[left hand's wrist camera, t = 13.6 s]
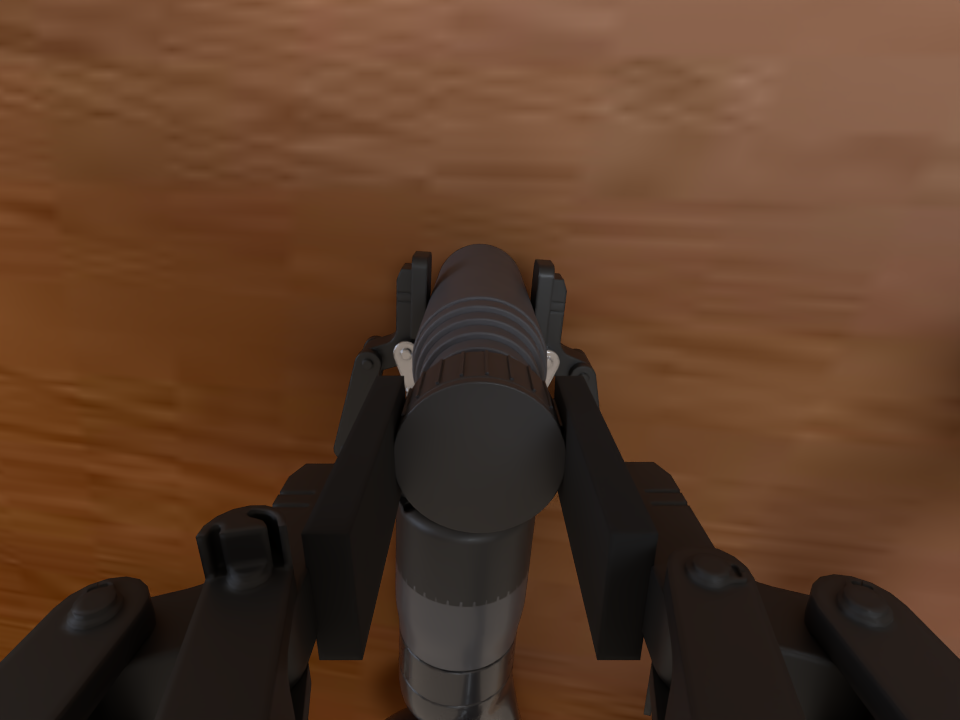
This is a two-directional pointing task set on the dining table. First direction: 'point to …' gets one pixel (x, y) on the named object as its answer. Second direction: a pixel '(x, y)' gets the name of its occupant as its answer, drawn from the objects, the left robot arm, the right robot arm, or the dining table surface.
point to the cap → (479, 443)
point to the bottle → (479, 312)
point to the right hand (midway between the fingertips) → (482, 259)
